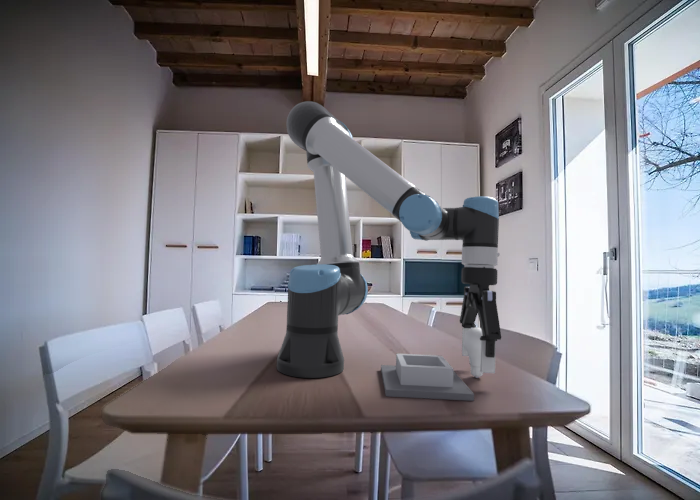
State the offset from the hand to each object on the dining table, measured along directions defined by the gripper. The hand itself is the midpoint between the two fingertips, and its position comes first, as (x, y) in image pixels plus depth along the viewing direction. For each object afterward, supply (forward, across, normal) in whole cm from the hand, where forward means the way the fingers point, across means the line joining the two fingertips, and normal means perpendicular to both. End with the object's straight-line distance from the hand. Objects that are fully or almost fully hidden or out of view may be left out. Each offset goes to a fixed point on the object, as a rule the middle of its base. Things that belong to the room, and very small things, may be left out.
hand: (476, 363), depth 78 cm
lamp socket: (+3, -6, +13) cm, 15 cm away
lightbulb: (+3, 0, 0) cm, 3 cm away
